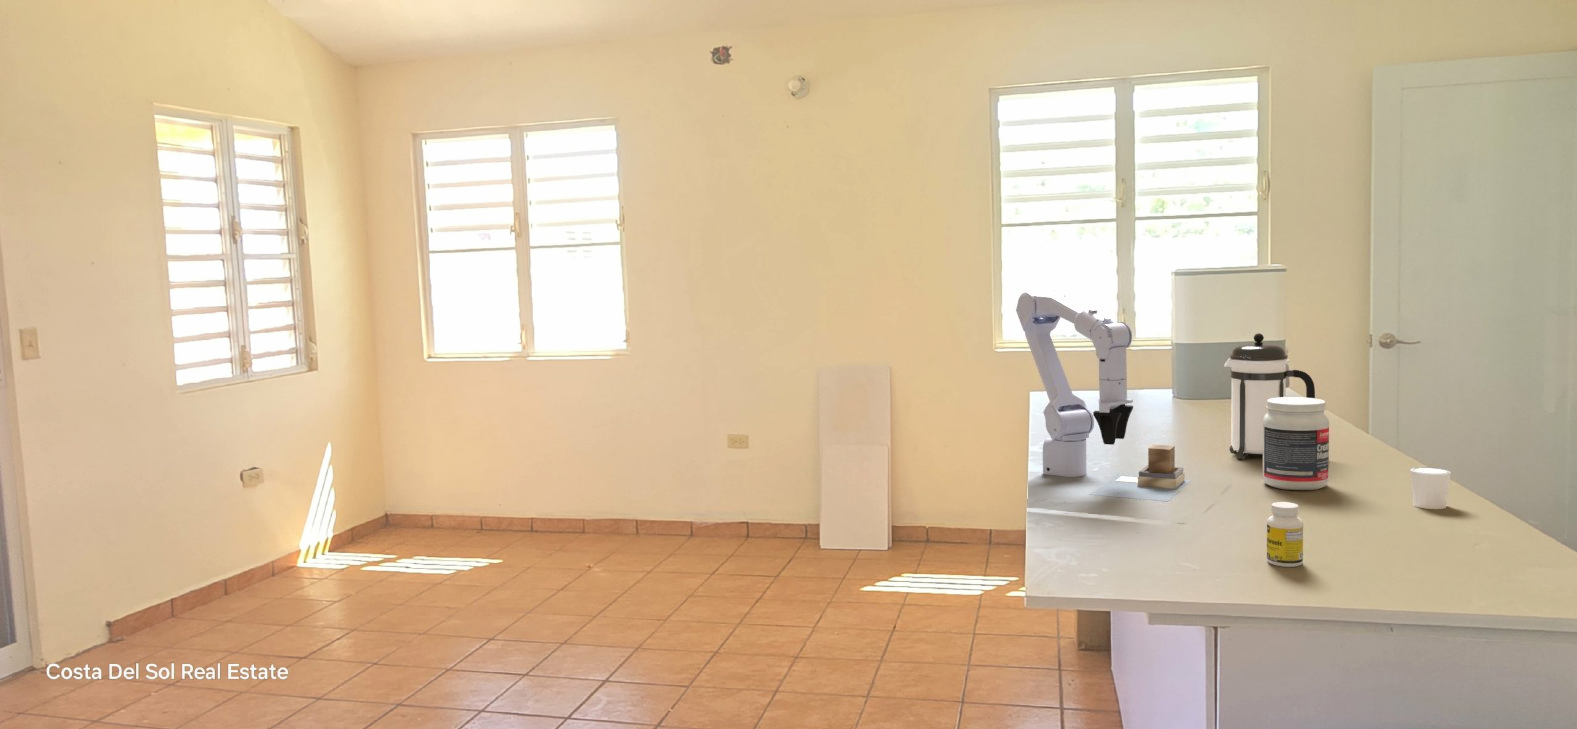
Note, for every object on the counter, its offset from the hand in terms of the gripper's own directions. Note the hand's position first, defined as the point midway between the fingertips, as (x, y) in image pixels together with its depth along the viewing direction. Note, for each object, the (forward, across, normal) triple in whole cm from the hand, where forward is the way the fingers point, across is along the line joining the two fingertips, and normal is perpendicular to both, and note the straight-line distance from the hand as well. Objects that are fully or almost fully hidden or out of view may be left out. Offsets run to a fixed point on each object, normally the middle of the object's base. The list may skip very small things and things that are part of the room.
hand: (1114, 441), depth 232 cm
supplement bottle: (+12, -43, -40) cm, 59 cm away
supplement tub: (+11, +17, -34) cm, 39 cm away
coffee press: (+10, +48, -22) cm, 54 cm away
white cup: (+12, +8, -58) cm, 60 cm away
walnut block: (+8, +5, -9) cm, 13 cm away
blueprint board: (+10, 0, -6) cm, 12 cm away
